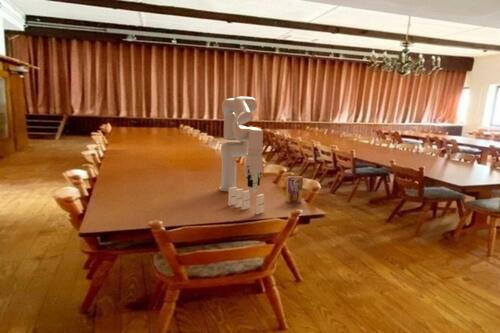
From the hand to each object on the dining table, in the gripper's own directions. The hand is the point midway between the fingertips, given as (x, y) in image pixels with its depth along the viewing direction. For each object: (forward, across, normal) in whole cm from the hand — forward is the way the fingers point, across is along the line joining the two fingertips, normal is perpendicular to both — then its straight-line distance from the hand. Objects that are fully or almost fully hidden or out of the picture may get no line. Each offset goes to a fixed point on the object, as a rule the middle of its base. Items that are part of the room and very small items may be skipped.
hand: (253, 185), depth 185 cm
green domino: (+3, 0, 0) cm, 3 cm away
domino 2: (+14, 0, -10) cm, 17 cm away
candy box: (+14, -33, +5) cm, 36 cm away
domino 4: (+14, 0, +5) cm, 15 cm away
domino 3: (+14, 0, -5) cm, 15 cm away
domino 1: (+14, 0, -15) cm, 21 cm away
